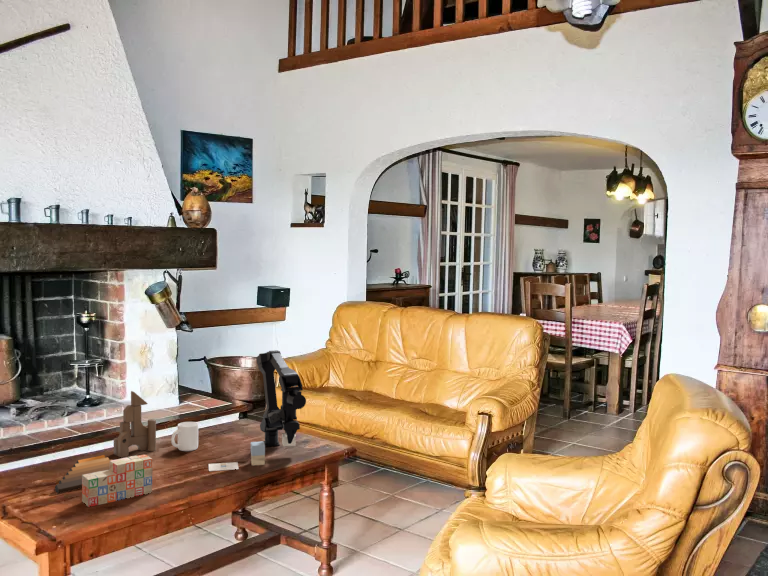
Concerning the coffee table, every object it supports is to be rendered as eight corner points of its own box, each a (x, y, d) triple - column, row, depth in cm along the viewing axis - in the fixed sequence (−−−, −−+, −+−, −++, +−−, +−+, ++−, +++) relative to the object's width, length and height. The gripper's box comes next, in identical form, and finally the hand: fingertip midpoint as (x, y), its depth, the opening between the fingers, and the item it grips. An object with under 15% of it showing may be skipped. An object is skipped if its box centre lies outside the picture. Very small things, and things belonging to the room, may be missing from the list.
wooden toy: (120, 458, 271) (119, 396, 270) (113, 454, 276) (113, 393, 275) (157, 450, 282) (157, 390, 280) (150, 446, 287) (150, 388, 285)
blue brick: (250, 452, 270) (250, 442, 269) (263, 451, 271) (263, 441, 271) (251, 455, 265) (251, 445, 265) (264, 455, 266) (264, 444, 266)
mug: (176, 454, 277) (176, 429, 276) (165, 450, 282) (165, 425, 282) (202, 448, 286) (202, 424, 285) (190, 444, 291) (190, 420, 291)
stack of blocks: (88, 508, 221) (87, 470, 220) (81, 502, 226) (81, 465, 225) (152, 493, 235) (152, 457, 234) (145, 487, 240) (145, 453, 239)
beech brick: (251, 461, 270) (251, 451, 270) (263, 460, 272) (263, 451, 271) (251, 465, 265) (251, 455, 265) (264, 465, 267) (264, 454, 266)
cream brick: (282, 442, 279) (282, 433, 279) (294, 442, 280) (294, 432, 280) (283, 446, 274) (283, 436, 274) (295, 445, 275) (295, 435, 275)
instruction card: (208, 464, 265) (208, 463, 265) (237, 462, 268) (237, 462, 268) (208, 471, 258) (208, 470, 258) (238, 469, 261) (238, 468, 261)
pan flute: (58, 495, 232) (130, 478, 250) (58, 485, 232) (130, 469, 250) (34, 476, 250) (102, 462, 268) (33, 467, 250) (102, 453, 267)
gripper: (266, 399, 283) (266, 436, 284) (271, 410, 265) (271, 449, 266) (293, 398, 286) (293, 434, 287) (300, 408, 268) (299, 447, 269)
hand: (288, 441), depth 277 cm, fingers closed on cream brick, 5 cm apart
